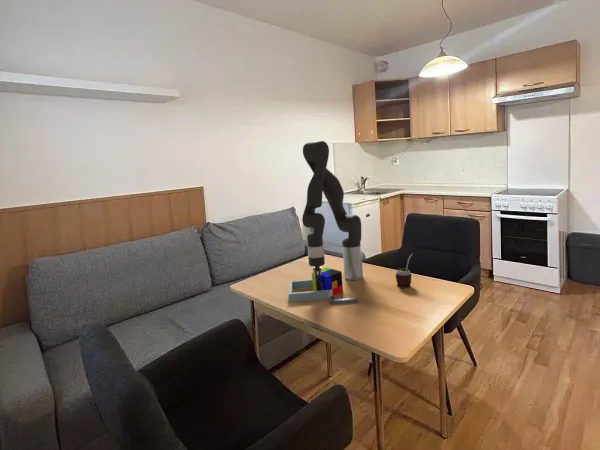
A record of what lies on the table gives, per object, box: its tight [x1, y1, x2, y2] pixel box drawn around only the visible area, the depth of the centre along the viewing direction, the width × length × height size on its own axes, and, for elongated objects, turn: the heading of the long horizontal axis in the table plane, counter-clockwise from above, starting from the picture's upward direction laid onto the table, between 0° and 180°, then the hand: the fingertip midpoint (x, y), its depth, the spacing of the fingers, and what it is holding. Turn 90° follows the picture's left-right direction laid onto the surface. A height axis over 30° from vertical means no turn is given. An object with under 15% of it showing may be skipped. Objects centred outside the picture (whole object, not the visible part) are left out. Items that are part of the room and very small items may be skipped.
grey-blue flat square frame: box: [288, 278, 330, 303], centre depth 181 cm, size 18×17×4 cm
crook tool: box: [330, 296, 360, 305], centre depth 169 cm, size 12×4×2 cm, turn 86°
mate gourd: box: [395, 253, 414, 289], centre depth 179 cm, size 8×8×15 cm
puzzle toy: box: [311, 267, 344, 298], centre depth 180 cm, size 10×10×10 cm
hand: (318, 287), depth 181 cm, fingers open, 8 cm apart
